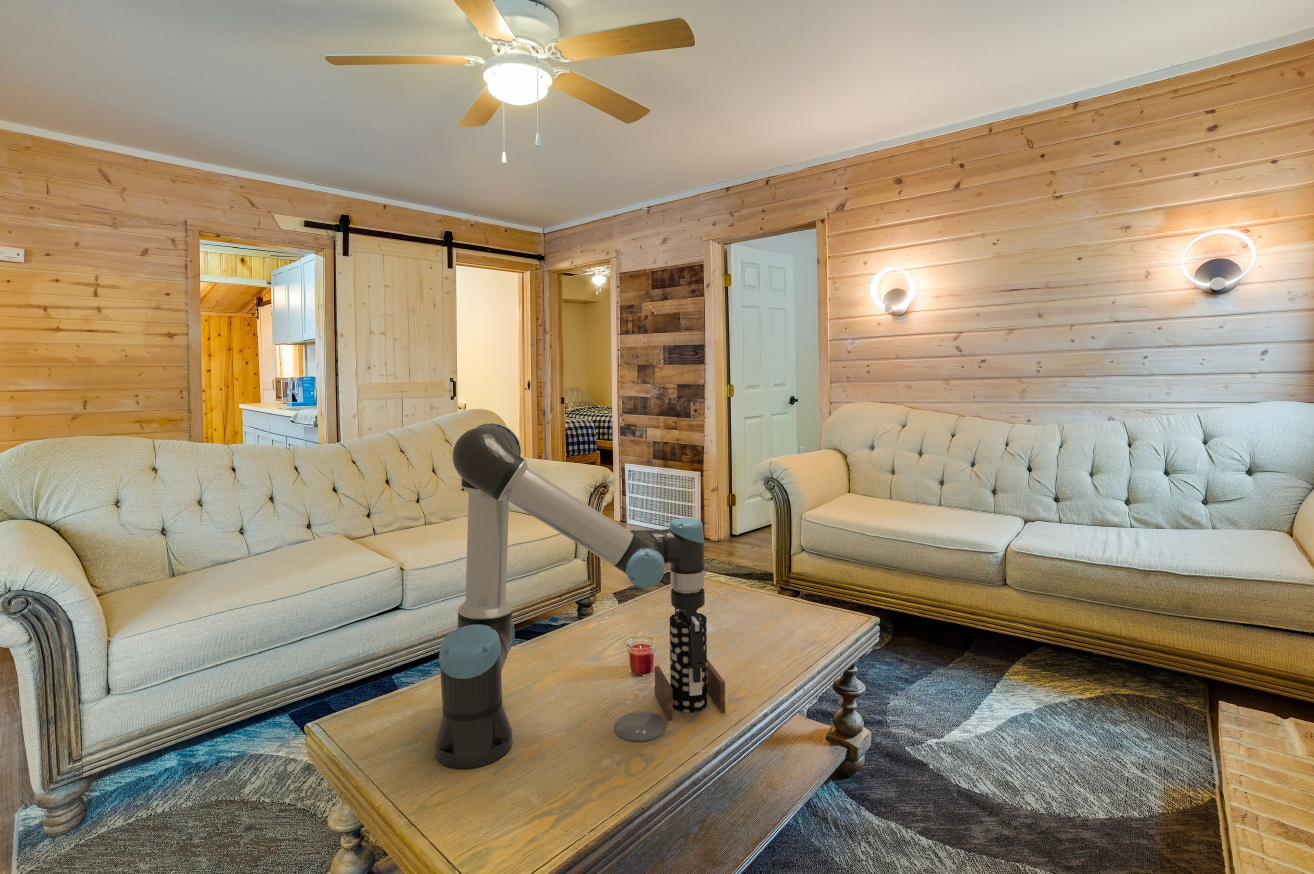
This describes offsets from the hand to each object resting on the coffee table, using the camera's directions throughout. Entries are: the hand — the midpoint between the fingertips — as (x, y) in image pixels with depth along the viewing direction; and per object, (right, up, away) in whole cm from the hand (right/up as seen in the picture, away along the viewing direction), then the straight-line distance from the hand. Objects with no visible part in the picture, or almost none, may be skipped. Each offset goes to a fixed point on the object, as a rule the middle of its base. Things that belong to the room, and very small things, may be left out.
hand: (688, 683), depth 149 cm
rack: (0, -5, 0) cm, 5 cm away
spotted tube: (0, -5, 0) cm, 5 cm away
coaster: (-11, -6, -9) cm, 15 cm away
